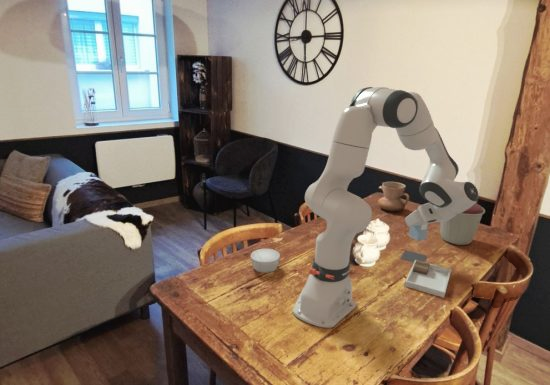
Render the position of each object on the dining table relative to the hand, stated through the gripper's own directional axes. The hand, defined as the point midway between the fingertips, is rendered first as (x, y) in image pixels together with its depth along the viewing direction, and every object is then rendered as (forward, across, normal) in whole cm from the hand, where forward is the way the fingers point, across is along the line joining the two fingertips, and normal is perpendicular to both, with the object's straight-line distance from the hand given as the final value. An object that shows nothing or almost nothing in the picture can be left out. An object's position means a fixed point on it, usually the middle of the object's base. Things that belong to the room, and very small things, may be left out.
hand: (418, 224), depth 149 cm
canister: (+15, -31, +6) cm, 35 cm away
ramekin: (+21, +60, 0) cm, 64 cm away
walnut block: (+3, +5, +17) cm, 18 cm away
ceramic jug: (+45, -28, -23) cm, 58 cm away
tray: (-1, +7, +22) cm, 23 cm away
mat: (+10, 0, +11) cm, 15 cm away
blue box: (+4, 0, +4) cm, 6 cm away
